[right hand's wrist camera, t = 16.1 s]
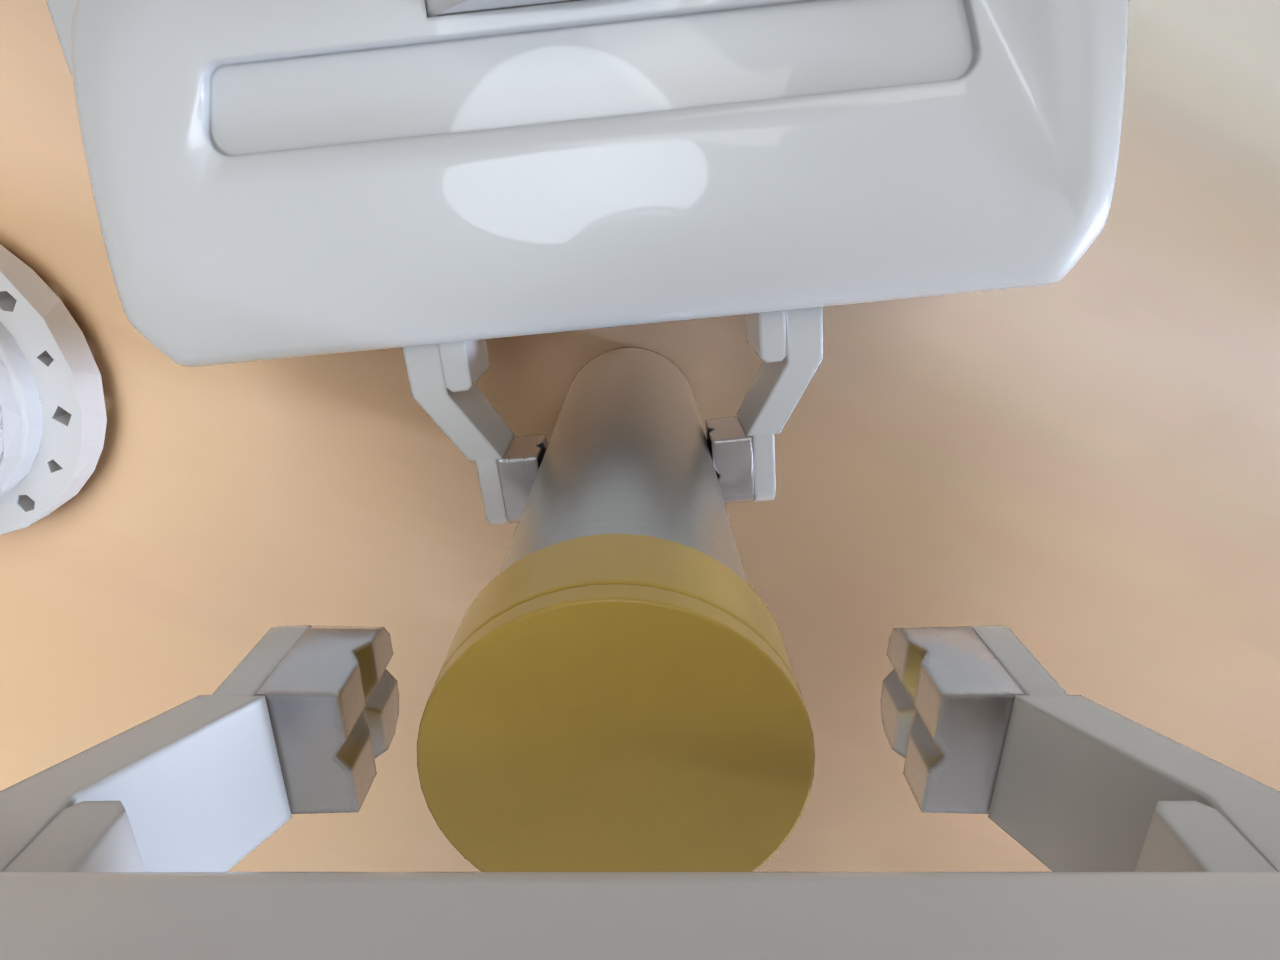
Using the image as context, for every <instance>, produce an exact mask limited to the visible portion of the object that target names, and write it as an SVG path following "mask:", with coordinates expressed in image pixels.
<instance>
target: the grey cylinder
mask: <svg viewBox="0 0 1280 960" xmlns="http://www.w3.org/2000/svg"><path fill="white" fill-rule="evenodd" d="M622 533H624V534H636V535H647V536H652V537H657V538H661V539H666V540H671V541H674V542H676V543H679V544H682V545H685V546H688V547H691V548H694V549H696V550H698V551H700V552H702V553H704V554H706V555H708V556H710V557H712V558H714V559H716V560H717V561H719V562H720V563H722V564H723V565H725V566H726V567H728V568H729V569H731V570H732V571H734V572H735V573H736V574H737V575H738V576H739V577H741V578H742V579H743V580H744V581H745V582H746V583H747V580H746V577H745V573H744V570H743V566H742V563H741V559H740V556H739V552H738V549H737V545H736V542H735V538H734V535H733V531H732V528H731V524H730V521H729V517H728V514H727V510H726V507H725V503H724V500H723V496H722V493H721V489H720V486H719V482H718V479H717V475H716V472H715V468H714V465H713V461H712V458H711V454H710V451H709V447H708V444H707V440H706V437H705V433H704V430H703V426H702V423H701V419H700V416H699V412H698V409H697V405H696V402H695V398H694V395H693V391H692V389H691V386H690V384H689V382H688V380H687V379H686V377H685V375H684V374H683V373H682V372H681V370H680V369H679V368H678V367H677V366H676V365H675V364H674V363H673V362H671V361H670V360H668V359H667V358H665V357H664V356H662V355H660V354H658V353H655V352H653V351H650V350H646V349H642V348H620V349H614V350H611V351H608V352H605V353H603V354H601V355H598V356H597V357H595V358H594V359H592V360H591V361H589V362H588V363H587V364H586V365H585V366H584V367H583V368H582V369H581V370H580V371H579V372H578V374H577V375H576V377H575V378H574V380H573V382H572V384H571V386H570V388H569V391H568V393H567V396H566V399H565V401H564V404H563V407H562V409H561V412H560V414H559V417H558V420H557V422H556V425H555V428H554V430H553V433H552V436H551V438H550V441H549V444H548V446H547V449H546V452H545V454H544V457H543V460H542V462H541V465H540V468H539V470H538V473H537V476H536V478H535V481H534V483H533V486H532V489H531V491H530V494H529V497H528V499H527V502H526V505H525V507H524V510H523V513H522V515H521V518H520V521H519V523H518V526H517V529H516V531H515V534H514V537H513V539H512V542H511V545H510V547H509V550H508V552H507V555H506V558H505V560H504V563H503V566H502V568H501V571H500V574H501V573H502V572H503V571H504V570H506V569H507V568H508V567H510V566H511V565H512V564H514V563H516V562H517V561H519V560H521V559H523V558H524V557H526V556H528V555H529V554H531V553H533V552H536V551H538V550H541V549H543V548H545V547H548V546H550V545H553V544H556V543H559V542H563V541H566V540H570V539H574V538H578V537H584V536H591V535H598V534H622Z"/></svg>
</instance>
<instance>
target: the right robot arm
mask: <svg viewBox="0 0 1280 960" xmlns="http://www.w3.org/2000/svg"><path fill="white" fill-rule="evenodd" d="M392 656H393V650H392V644H391V639H390V634H389V632H388V631H387V630H386V629H385V628H384V627H347V626H314V627H313V626H310V625H303V626H277V627H273V628H271V629H270V630H269V631H268V632H267V633H266V634H265V636H264V637H263V638H262V639H261V640H260V641H259V642H258V643H257V645H256V646H255V647H254V648H253V649H252V650H251V651H250V652H249V654H248V655H247V656H246V657H245V658H244V659H243V660H242V661H241V663H240V664H239V665H238V666H237V667H236V668H235V669H234V670H233V672H232V673H231V674H230V675H229V676H228V677H227V678H226V679H225V681H224V682H223V683H222V684H221V685H220V686H219V687H218V689H217V690H216V691H215V692H214V693H213V694H212V695H200V696H197V697H195V698H193V699H191V700H189V701H187V702H185V703H183V704H181V705H179V706H177V707H175V708H173V709H170V710H168V711H166V712H164V713H162V714H160V715H158V716H156V717H154V718H152V719H150V720H148V721H146V722H143V723H141V724H139V725H137V726H135V727H133V728H131V729H129V730H127V731H125V732H123V733H121V734H119V735H116V736H114V737H112V738H110V739H108V740H106V741H104V742H102V743H100V744H98V745H96V746H94V747H92V748H89V749H87V750H85V751H83V752H81V753H79V754H77V755H75V756H73V757H71V758H69V759H67V760H65V761H62V762H60V763H58V764H56V765H54V766H52V767H50V768H48V769H46V770H44V771H42V772H40V773H38V774H35V775H33V776H31V777H29V778H27V779H25V780H23V781H21V782H19V783H17V784H15V785H13V786H11V787H8V788H6V789H4V790H2V791H0V960H1280V792H1279V791H1277V790H1275V789H1273V788H1271V787H1269V786H1267V785H1265V784H1263V783H1261V782H1259V781H1256V780H1254V779H1252V778H1250V777H1248V776H1246V775H1244V774H1242V773H1240V772H1238V771H1236V770H1234V769H1232V768H1230V767H1227V766H1225V765H1223V764H1221V763H1219V762H1217V761H1215V760H1213V759H1211V758H1209V757H1207V756H1205V755H1203V754H1201V753H1198V752H1196V751H1194V750H1192V749H1190V748H1188V747H1186V746H1184V745H1182V744H1180V743H1178V742H1176V741H1174V740H1172V739H1170V738H1167V737H1165V736H1163V735H1161V734H1159V733H1157V732H1155V731H1153V730H1151V729H1149V728H1147V727H1145V726H1143V725H1141V724H1138V723H1136V722H1134V721H1132V720H1130V719H1128V718H1126V717H1124V716H1122V715H1120V714H1118V713H1116V712H1114V711H1112V710H1109V709H1107V708H1105V707H1103V706H1101V705H1099V704H1097V703H1095V702H1093V701H1091V700H1089V699H1087V698H1085V697H1083V696H1080V695H1068V694H1067V693H1066V692H1065V691H1064V690H1063V689H1062V687H1061V686H1060V685H1059V684H1058V683H1057V682H1056V681H1055V680H1054V678H1053V677H1052V676H1051V675H1050V674H1049V673H1048V672H1047V671H1046V669H1045V668H1044V667H1043V666H1042V665H1041V664H1040V663H1039V661H1038V660H1037V659H1036V658H1035V657H1034V656H1033V655H1032V654H1031V652H1030V651H1029V650H1028V649H1027V648H1026V647H1025V646H1024V645H1023V643H1022V642H1021V641H1020V640H1019V639H1018V638H1017V637H1016V636H1015V634H1014V633H1013V632H1012V631H1011V630H1010V629H1009V628H1007V627H1004V626H1002V625H990V626H965V627H931V628H894V629H893V631H892V633H891V635H890V638H889V643H888V649H887V656H888V657H889V659H890V661H891V663H892V665H893V667H894V670H893V671H892V672H891V673H890V674H889V675H888V676H887V677H886V678H885V679H884V680H883V684H882V693H881V712H882V722H883V726H884V730H885V734H886V737H887V739H888V741H889V743H890V746H891V748H892V750H894V751H895V752H897V753H898V754H900V755H901V756H902V757H904V758H905V766H904V772H903V774H904V776H905V778H906V780H907V782H908V784H909V786H910V789H911V791H912V793H913V795H914V797H915V799H916V801H917V803H918V805H919V808H920V810H921V812H937V813H972V814H989V815H988V817H989V818H990V819H991V820H992V821H993V822H995V823H996V824H997V825H998V826H999V827H1001V828H1002V829H1003V830H1004V831H1005V832H1007V833H1008V834H1009V835H1010V836H1011V837H1012V838H1014V839H1015V840H1016V841H1017V842H1018V843H1020V844H1021V845H1022V846H1023V847H1024V848H1026V849H1027V850H1028V851H1029V852H1030V853H1031V854H1033V855H1034V856H1035V857H1036V858H1037V859H1039V860H1040V861H1041V862H1042V863H1043V864H1045V865H1046V866H1047V867H1048V868H1049V869H1051V870H1052V871H1053V872H227V871H229V870H230V869H231V868H232V867H233V866H234V865H236V864H237V863H238V862H239V861H240V860H242V859H243V858H244V857H245V856H246V855H248V854H249V853H250V852H251V851H252V850H254V849H255V848H256V847H257V846H258V845H259V844H261V843H262V842H263V841H264V840H265V839H267V838H268V837H269V836H270V835H271V834H273V833H274V832H275V831H276V830H277V829H279V828H280V827H281V826H282V825H283V824H284V823H286V822H287V821H288V820H289V819H290V818H291V817H292V816H291V814H307V813H342V812H359V810H360V808H361V806H362V803H363V801H364V799H365V797H366V795H367V793H368V791H369V789H370V787H371V784H372V782H373V780H374V778H375V776H376V774H377V772H376V766H375V758H376V757H378V756H379V755H380V754H382V753H383V752H385V751H386V750H388V748H389V746H390V743H391V741H392V739H393V736H394V734H395V730H396V725H397V720H398V715H399V691H398V684H397V680H396V679H395V678H394V677H393V676H392V675H391V674H390V673H389V672H388V671H387V670H386V667H387V665H388V663H389V661H390V659H391V657H392Z"/></svg>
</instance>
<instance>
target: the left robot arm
mask: <svg viewBox="0 0 1280 960" xmlns="http://www.w3.org/2000/svg"><path fill="white" fill-rule="evenodd" d="M46 2H47V5H48V8H49V11H50V14H51V17H52V20H53V23H54V26H55V29H56V32H57V35H58V38H59V41H60V44H61V47H62V50H63V53H64V56H65V59H66V62H67V65H68V67H69V70H70V72H71V74H72V76H73V83H74V91H75V99H76V105H77V111H78V117H79V123H80V130H81V136H82V142H83V147H84V152H85V157H86V163H87V168H88V173H89V178H90V182H91V187H92V192H93V196H94V201H95V205H96V209H97V214H98V218H99V222H100V227H101V231H102V235H103V239H104V243H105V247H106V251H107V255H108V259H109V263H110V266H111V270H112V274H113V277H114V281H115V284H116V288H117V291H118V294H119V297H120V300H121V303H122V306H123V309H124V311H125V313H126V315H127V317H128V319H129V321H130V323H131V324H132V325H133V327H134V328H135V329H136V330H138V331H139V332H140V333H141V334H142V335H143V336H144V337H146V338H147V339H148V340H149V341H150V342H151V343H152V344H154V345H155V346H156V347H157V348H158V349H159V350H160V351H162V352H163V353H164V354H165V355H166V356H168V357H169V358H170V359H171V360H173V361H174V362H175V363H177V364H179V365H182V366H186V367H199V366H211V365H221V364H232V363H242V362H253V361H263V360H273V359H284V358H294V357H305V356H315V355H325V354H336V353H346V352H357V351H367V350H377V349H388V348H398V347H402V350H403V355H404V359H405V364H406V369H407V373H408V378H409V383H410V388H411V392H412V397H413V398H414V399H415V400H416V401H417V402H418V404H419V405H420V406H421V407H422V408H423V409H424V410H425V412H426V413H427V414H428V415H429V416H430V417H431V418H432V419H433V421H434V422H435V423H436V424H437V425H438V426H439V427H440V428H441V430H442V431H443V432H444V433H445V434H446V435H447V436H448V437H449V439H450V440H451V441H452V442H453V443H454V444H455V445H456V446H457V448H458V449H459V450H460V451H461V452H462V453H463V454H464V455H465V457H466V458H467V459H468V460H469V461H470V462H474V461H475V462H476V467H477V472H478V478H479V483H480V488H481V493H482V499H483V504H484V509H485V514H486V518H487V520H488V522H489V524H490V525H493V524H510V523H514V522H519V521H520V518H521V515H522V513H523V510H524V507H525V505H526V502H527V499H528V497H529V494H530V491H531V489H532V486H533V483H534V481H535V478H536V476H537V473H538V470H539V468H540V465H541V462H542V460H543V457H544V454H545V452H546V449H547V446H548V445H547V439H546V435H533V436H518V437H514V434H513V432H512V431H511V430H510V429H509V427H508V426H507V425H506V423H505V422H504V421H503V419H502V418H501V417H500V415H499V414H498V413H497V412H496V410H495V409H494V408H493V406H492V405H491V404H490V402H489V401H488V400H487V399H486V397H485V396H484V395H483V393H482V392H481V391H480V389H479V388H478V387H477V385H476V384H475V383H476V381H477V380H478V379H479V378H480V377H481V376H482V375H483V374H484V373H485V371H486V370H487V369H488V368H489V367H490V362H489V356H488V349H487V343H486V339H492V338H502V337H513V336H523V335H534V334H544V333H554V332H565V331H575V330H586V329H596V328H606V327H617V326H627V325H638V324H648V323H658V322H669V321H679V320H690V319H700V318H710V317H721V316H731V315H742V314H746V330H747V342H748V343H749V345H750V346H751V347H752V348H753V350H754V351H755V352H756V354H757V355H758V356H759V357H760V359H762V360H763V363H762V365H761V367H760V369H759V371H758V373H757V375H756V377H755V379H754V381H753V383H752V385H751V387H750V389H749V391H748V393H747V395H746V397H745V399H744V401H743V403H742V405H741V407H740V409H739V411H738V413H737V416H736V417H727V418H719V419H710V420H705V423H706V440H707V444H708V447H709V451H710V454H711V458H712V461H713V465H714V468H715V472H716V475H717V479H718V482H719V486H720V489H721V493H722V496H723V500H724V503H725V504H733V503H745V502H753V501H754V502H757V501H768V500H774V499H775V493H776V476H775V440H774V434H780V432H781V431H782V429H783V427H784V425H785V424H786V422H787V420H788V419H789V417H790V415H791V413H792V412H793V410H794V408H795V406H796V405H797V403H798V401H799V400H800V398H801V396H802V394H803V393H804V391H805V389H806V387H807V386H808V384H809V382H810V380H811V379H812V377H813V375H814V374H815V372H816V370H817V368H818V367H819V365H820V363H821V361H822V360H823V307H825V306H835V305H846V304H856V303H866V302H877V301H887V300H898V299H908V298H918V297H929V296H939V295H950V294H960V293H971V292H981V291H991V290H1002V289H1012V288H1022V287H1032V286H1042V285H1050V284H1053V283H1056V282H1058V281H1060V280H1061V279H1062V278H1064V276H1065V275H1066V274H1067V273H1068V272H1069V271H1070V270H1071V269H1072V268H1073V267H1074V265H1075V264H1076V263H1077V262H1078V261H1079V259H1080V258H1081V257H1082V256H1083V254H1084V253H1085V252H1086V251H1087V249H1088V248H1089V247H1090V245H1091V244H1092V243H1093V242H1094V240H1095V239H1096V238H1097V236H1098V235H1099V234H1100V232H1101V231H1102V229H1103V227H1104V225H1105V223H1106V221H1107V218H1108V214H1109V211H1110V207H1111V203H1112V197H1113V191H1114V185H1115V179H1116V173H1117V164H1118V155H1119V146H1120V137H1121V128H1122V117H1123V105H1124V93H1125V79H1126V60H1127V42H1128V9H1129V0H46Z"/></svg>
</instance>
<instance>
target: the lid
mask: <svg viewBox="0 0 1280 960" xmlns="http://www.w3.org/2000/svg"><path fill="white" fill-rule="evenodd" d="M814 764H815V748H814V738H813V732H812V728H811V724H810V721H809V717H808V713H807V710H806V707H805V704H804V701H803V698H802V696H801V692H800V689H799V686H798V683H797V680H796V677H795V674H794V671H793V668H792V665H791V662H790V659H789V656H788V653H787V650H786V647H785V644H784V641H783V638H782V635H781V633H780V630H779V628H778V626H777V624H776V621H775V619H774V617H773V616H772V614H771V613H770V611H769V609H768V608H767V606H766V605H765V603H764V602H763V600H762V599H761V598H760V597H759V596H758V595H757V593H756V592H755V591H754V590H753V589H752V588H751V587H750V585H749V584H747V583H746V582H745V581H744V580H743V579H742V578H741V577H739V576H738V575H737V574H736V573H735V572H734V571H732V570H731V569H729V568H728V567H726V566H725V565H723V564H722V563H720V562H719V561H717V560H716V559H714V558H712V557H710V556H708V555H706V554H704V553H702V552H700V551H698V550H696V549H694V548H691V547H688V546H685V545H682V544H679V543H676V542H674V541H671V540H666V539H661V538H657V537H652V536H647V535H636V534H624V533H622V534H598V535H591V536H584V537H578V538H574V539H570V540H566V541H563V542H559V543H556V544H553V545H550V546H548V547H545V548H543V549H541V550H538V551H536V552H533V553H531V554H529V555H528V556H526V557H524V558H523V559H521V560H519V561H517V562H516V563H514V564H512V565H511V566H510V567H508V568H507V569H506V570H504V571H503V572H502V573H501V574H499V575H498V576H497V577H495V578H494V579H493V580H492V581H491V582H490V583H489V584H488V585H487V586H486V587H485V588H484V590H483V591H482V592H481V593H480V594H479V595H478V597H477V598H476V599H475V601H474V602H473V603H472V605H471V606H470V608H469V609H468V611H467V613H466V615H465V617H464V618H463V620H462V622H461V624H460V626H459V628H458V631H457V633H456V635H455V638H454V640H453V643H452V645H451V647H450V650H449V652H448V654H447V657H446V659H445V661H444V664H443V666H442V668H441V671H440V673H439V675H438V678H437V680H436V683H435V686H434V687H433V690H432V692H431V694H430V697H429V699H428V701H427V704H426V707H425V710H424V713H423V716H422V719H421V722H420V727H419V733H418V740H417V768H418V773H419V778H420V784H421V789H422V791H423V794H424V797H425V800H426V803H427V806H428V808H429V810H430V812H431V814H432V816H433V817H434V819H435V821H436V823H437V825H438V826H439V828H440V829H441V831H442V832H443V833H444V835H445V836H446V837H447V839H448V840H449V842H450V843H451V844H452V845H453V846H454V847H455V848H456V849H457V850H458V851H459V852H460V853H461V854H462V855H463V857H464V858H465V859H467V860H468V861H469V862H470V863H472V864H473V865H474V866H475V867H476V868H478V869H479V870H480V871H481V872H753V871H754V870H756V869H757V868H758V867H760V866H761V865H762V864H763V863H764V862H765V861H766V860H767V859H768V858H769V857H770V856H772V855H773V854H774V853H775V852H776V851H777V850H778V848H779V847H780V846H781V845H782V843H783V842H784V841H785V840H786V838H787V837H788V836H789V835H790V833H791V832H792V830H793V828H794V827H795V825H796V823H797V822H798V820H799V818H800V816H801V814H802V812H803V809H804V807H805V804H806V802H807V800H808V797H809V793H810V789H811V785H812V780H813V776H814Z"/></svg>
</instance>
